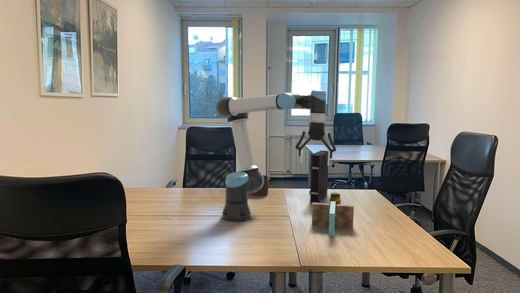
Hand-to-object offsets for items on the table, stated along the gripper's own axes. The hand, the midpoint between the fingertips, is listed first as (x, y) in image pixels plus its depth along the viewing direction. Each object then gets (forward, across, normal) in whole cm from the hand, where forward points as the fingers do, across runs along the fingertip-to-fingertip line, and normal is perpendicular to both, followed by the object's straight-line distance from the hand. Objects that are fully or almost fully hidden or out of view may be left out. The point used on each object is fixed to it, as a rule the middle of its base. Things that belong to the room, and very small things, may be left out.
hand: (314, 164), depth 192 cm
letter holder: (+32, -45, +54) cm, 77 cm away
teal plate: (+30, +11, -9) cm, 33 cm away
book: (+31, 0, +51) cm, 60 cm away
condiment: (+30, +10, +17) cm, 36 cm away
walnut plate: (+30, +11, -3) cm, 32 cm away
